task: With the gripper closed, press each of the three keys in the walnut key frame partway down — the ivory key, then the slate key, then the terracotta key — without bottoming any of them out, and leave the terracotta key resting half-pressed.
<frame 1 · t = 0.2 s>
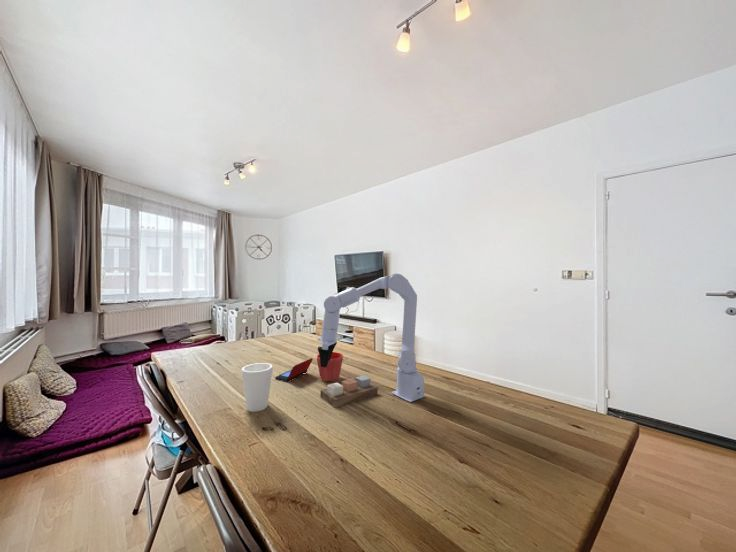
hand: (325, 363, 107), 10 cm above the table, tool pointing down, fingers open, 7 cm apart
flower pot: (329, 378, 119), on the table
terracotta key: (349, 385, 102), point 4 cm above the table, slide at 0.0 cm
slate key: (362, 381, 106), point 4 cm above the table, slide at 0.0 cm
handheld game console: (294, 377, 121), on the table
foam cup: (257, 407, 93), on the table
key frame: (349, 395, 102), on the table
ivory key: (335, 389, 99), point 4 cm above the table, slide at 0.0 cm
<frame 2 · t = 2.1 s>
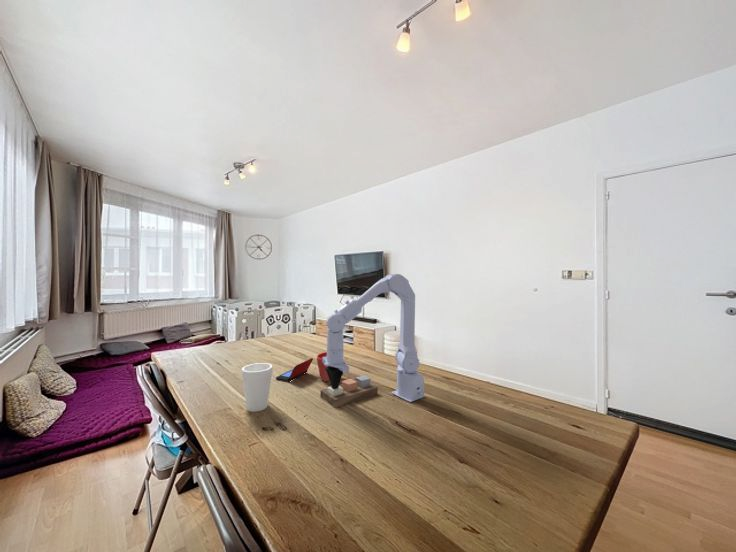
hand: (335, 388, 99), 4 cm above the table, tool pointing down, fingers closed, pressing on ivory key
ivory key: (335, 392, 99), point 3 cm above the table, slide at 0.8 cm, touching gripper
everything else where it was.
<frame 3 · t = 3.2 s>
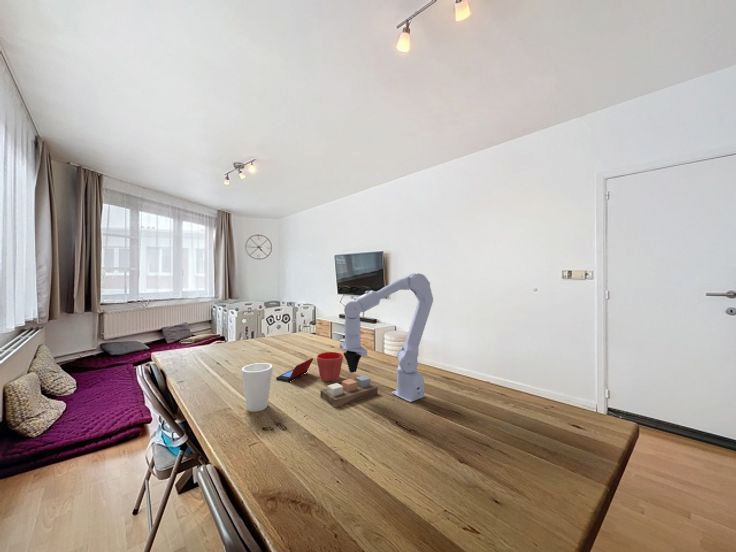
hand: (352, 371, 103), 8 cm above the table, tool pointing down, fingers closed
ivory key: (335, 390, 99), point 3 cm above the table, slide at 0.2 cm
everything else where it was.
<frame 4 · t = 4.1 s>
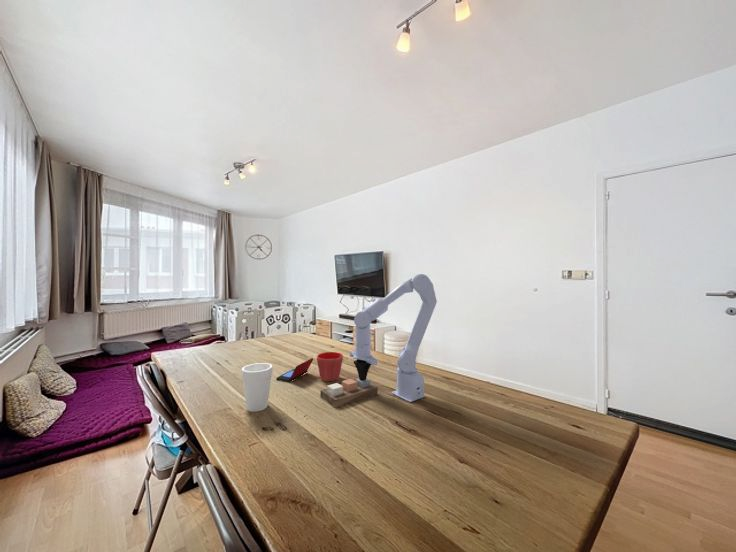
hand: (362, 379, 106), 4 cm above the table, tool pointing down, fingers closed, pressing on slate key
slate key: (362, 383, 106), point 3 cm above the table, slide at 0.7 cm, touching gripper
everything else where it was.
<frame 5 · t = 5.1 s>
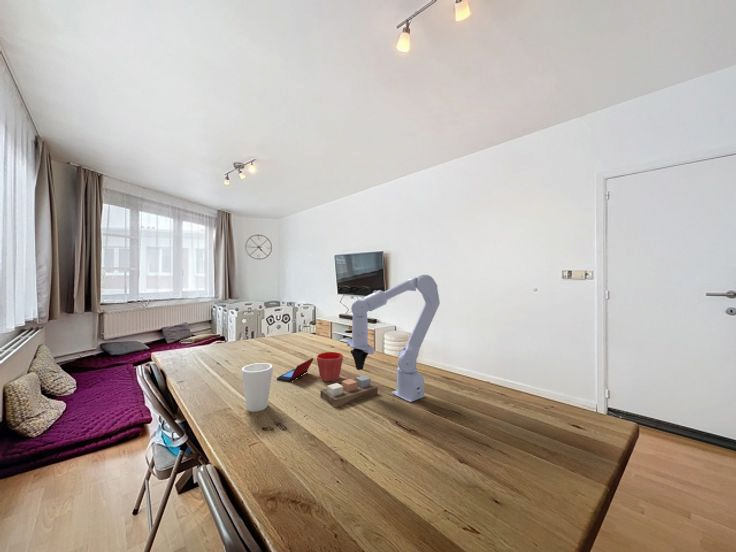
hand: (359, 369, 105), 8 cm above the table, tool pointing down, fingers closed
slate key: (362, 382, 106), point 3 cm above the table, slide at 0.0 cm
everything else where it was.
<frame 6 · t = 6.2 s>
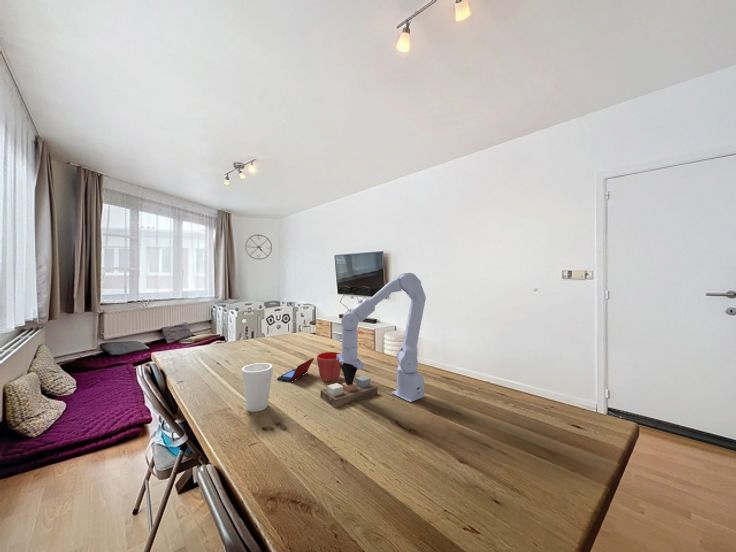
hand: (349, 384, 102), 4 cm above the table, tool pointing down, fingers closed, pressing on terracotta key
terracotta key: (349, 388, 102), point 3 cm above the table, slide at 0.9 cm, touching gripper
everything else where it was.
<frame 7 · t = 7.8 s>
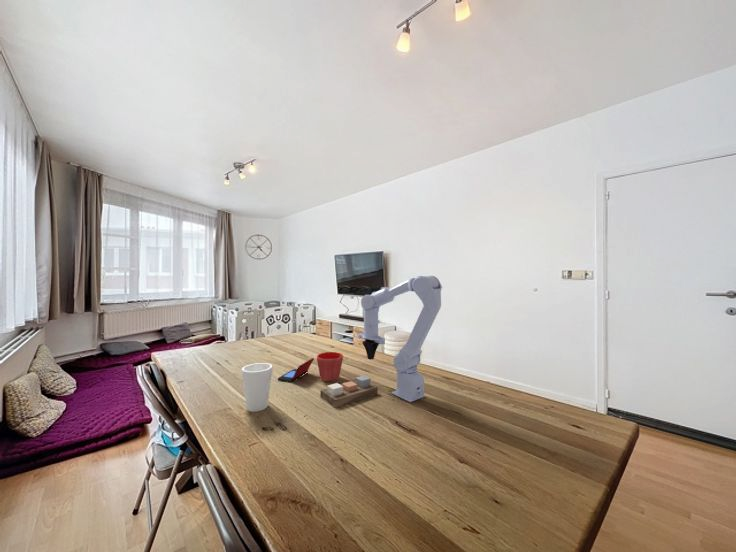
hand: (370, 358, 113), 10 cm above the table, tool pointing down, fingers closed
terracotta key: (349, 388, 102), point 3 cm above the table, slide at 0.9 cm
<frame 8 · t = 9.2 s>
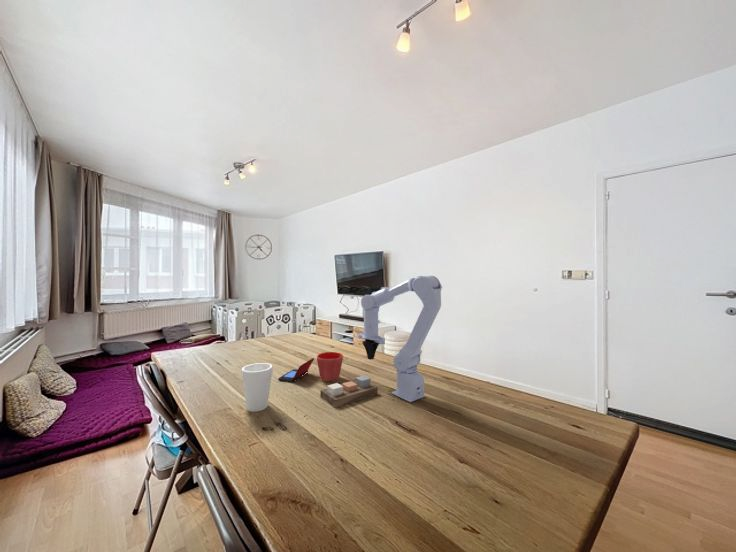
hand: (370, 358, 113), 10 cm above the table, tool pointing down, fingers closed
at the end: terracotta key slide at 0.9 cm; ivory key slide at 0.2 cm; slate key slide at 0.0 cm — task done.
